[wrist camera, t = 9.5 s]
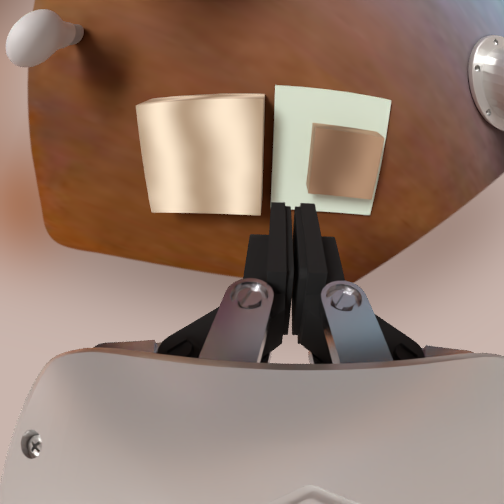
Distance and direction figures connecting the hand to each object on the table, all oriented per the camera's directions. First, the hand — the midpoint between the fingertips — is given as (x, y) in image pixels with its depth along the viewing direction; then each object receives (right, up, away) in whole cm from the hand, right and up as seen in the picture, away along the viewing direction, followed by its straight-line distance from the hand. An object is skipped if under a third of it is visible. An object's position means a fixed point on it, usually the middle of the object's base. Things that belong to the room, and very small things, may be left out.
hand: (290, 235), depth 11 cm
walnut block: (+8, +9, +16) cm, 20 cm away
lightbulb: (-21, +24, +10) cm, 33 cm away
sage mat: (+7, +10, +18) cm, 21 cm away
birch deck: (-6, +11, +18) cm, 22 cm away
